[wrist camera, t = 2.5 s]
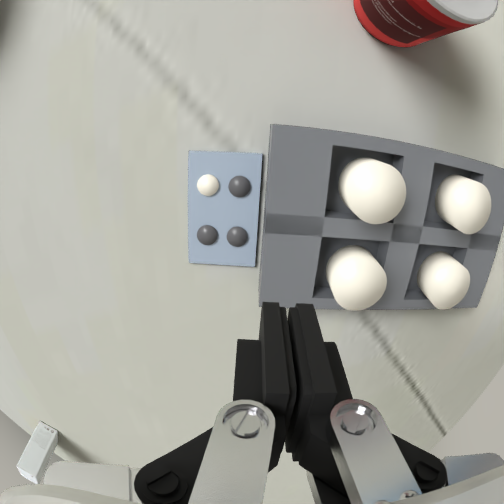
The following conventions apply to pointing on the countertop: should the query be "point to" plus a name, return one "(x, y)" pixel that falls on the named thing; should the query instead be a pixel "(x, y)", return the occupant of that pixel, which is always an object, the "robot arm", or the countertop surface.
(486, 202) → the button
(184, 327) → the countertop surface
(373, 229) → the button board
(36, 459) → the skincare box
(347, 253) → the button
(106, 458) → the countertop surface
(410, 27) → the canned food
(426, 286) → the button
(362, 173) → the button
